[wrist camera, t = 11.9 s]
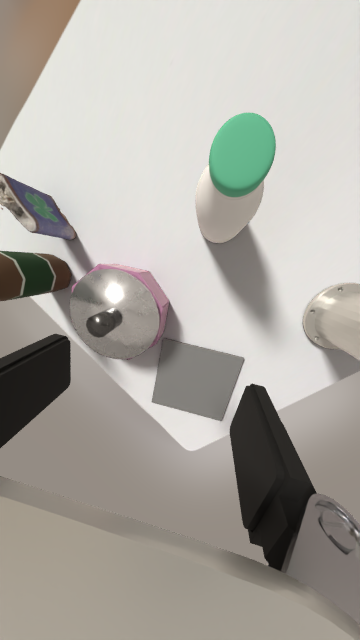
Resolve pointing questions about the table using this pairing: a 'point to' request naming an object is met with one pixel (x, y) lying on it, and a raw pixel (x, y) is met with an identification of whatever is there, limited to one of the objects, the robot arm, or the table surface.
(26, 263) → the beer bottle
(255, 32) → the table surface
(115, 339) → the lid
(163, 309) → the pink octagonal dish
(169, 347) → the mat
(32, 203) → the flask
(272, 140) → the milk bottle
